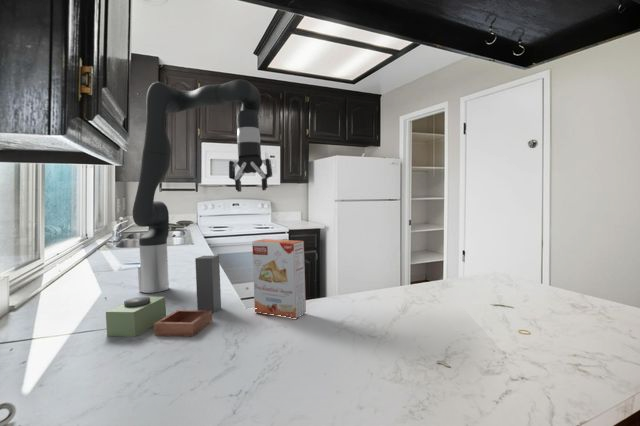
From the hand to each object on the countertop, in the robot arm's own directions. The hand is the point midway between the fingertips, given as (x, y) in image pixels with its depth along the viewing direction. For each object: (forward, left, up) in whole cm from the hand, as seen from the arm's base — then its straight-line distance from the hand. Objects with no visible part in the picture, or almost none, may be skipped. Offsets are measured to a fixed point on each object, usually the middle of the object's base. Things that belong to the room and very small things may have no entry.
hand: (251, 190), depth 114 cm
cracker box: (+13, -18, -36) cm, 42 cm away
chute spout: (-9, -16, -36) cm, 40 cm away
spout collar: (-9, -30, -36) cm, 47 cm away
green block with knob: (-22, -29, -36) cm, 51 cm away
